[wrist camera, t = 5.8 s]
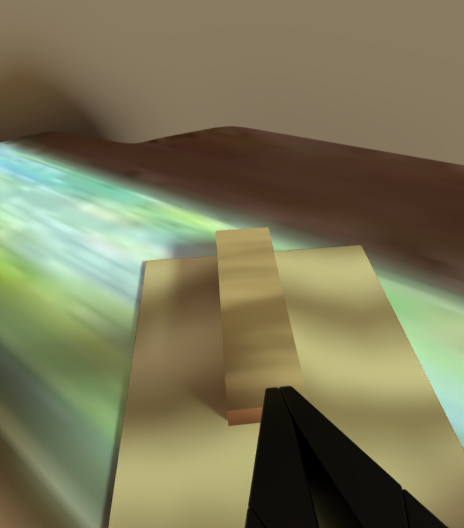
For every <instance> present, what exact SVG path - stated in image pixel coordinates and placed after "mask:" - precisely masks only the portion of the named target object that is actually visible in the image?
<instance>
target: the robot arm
mask: <svg viewBox="0 0 464 528" xmlns="http://www.w3.org/2000/svg"><path fill="white" fill-rule="evenodd" d="M244 528H449V527H447V526H446V525H445V524H444V523H443V522H442V521H441V520H440V519H438V518H437V517H436V516H435V515H434V514H433V513H432V512H430V511H429V510H428V509H427V508H426V507H425V506H424V505H423V504H421V503H420V502H419V501H418V500H417V499H416V498H415V497H414V496H413V495H411V494H410V493H409V492H408V491H407V490H406V489H403V490H402V486H401V485H400V484H399V483H398V482H397V481H396V480H395V479H394V478H393V477H391V476H390V475H389V474H388V473H387V472H386V471H385V470H384V469H383V468H382V467H380V466H379V465H378V464H377V463H376V462H375V461H374V460H373V459H372V458H371V457H369V456H368V455H367V454H366V453H365V452H364V451H363V450H362V449H361V448H360V447H358V446H357V445H356V444H355V443H354V442H353V441H352V440H351V439H350V438H349V437H347V436H346V435H345V434H344V433H343V432H342V431H341V430H340V429H339V428H337V427H336V426H335V425H334V424H333V423H332V422H331V421H330V420H329V419H328V418H326V417H325V416H324V415H323V414H322V413H321V412H320V411H319V410H318V409H317V408H315V407H314V406H313V405H312V404H311V403H310V402H309V401H308V400H307V399H306V398H304V397H303V396H302V395H301V394H300V393H299V392H298V391H297V390H296V389H295V388H293V387H292V386H281V387H279V388H278V387H270V388H266V389H265V395H264V402H263V408H262V415H261V422H260V428H259V435H258V442H257V448H256V455H255V462H254V469H253V475H252V482H251V489H250V495H249V502H248V509H247V514H246V521H245V527H244Z"/></svg>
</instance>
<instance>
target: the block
mask: <svg viewBox="0 0 464 528" xmlns="http://www.w3.org/2000/svg"><path fill="white" fill-rule="evenodd" d="M216 242H217V258H218V274H219V289H220V305H221V321H222V337H223V353H224V368H225V384H226V400H227V416H228V426H235V425H244V424H253V423H260V422H261V415H262V408H263V402H264V395H265V389H266V388H270V387H278V388H279V387H281V386H292V387H293V388H295V389H296V390H297V391H298V392H299V393H300V394H301V395H302V396H303V397H304V398H306V399H307V400H308V397H307V393H306V388H305V384H304V380H303V375H302V371H301V367H300V362H299V358H298V354H297V349H296V345H295V341H294V337H293V332H292V328H291V324H290V319H289V315H288V311H287V306H286V302H285V298H284V293H283V289H282V285H281V281H280V276H279V272H278V268H277V263H276V259H275V255H274V250H273V246H272V242H271V237H270V233H269V229H268V227H267V228H253V229H238V230H223V231H216Z"/></svg>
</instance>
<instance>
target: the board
mask: <svg viewBox="0 0 464 528" xmlns="http://www.w3.org/2000/svg"><path fill="white" fill-rule="evenodd" d="M274 255H275V259H276V263H277V268H278V272H279V276H280V281H281V285H282V289H283V293H284V298H285V302H286V306H287V311H288V315H289V319H290V324H291V328H292V332H293V337H294V341H295V345H296V349H297V354H298V358H299V362H300V367H301V371H302V375H303V380H304V384H305V388H306V393H307V397H308V401H309V402H310V403H311V404H312V405H313V406H314V407H315V408H317V409H318V410H319V411H320V412H321V413H322V414H323V415H324V416H325V417H326V418H328V419H329V420H330V421H331V422H332V423H333V424H334V425H335V426H336V427H337V428H339V429H340V430H341V431H342V432H343V433H344V434H345V435H346V436H347V437H349V438H350V439H351V440H352V441H353V442H354V443H355V444H356V445H357V446H358V447H360V448H361V449H362V450H363V451H364V452H365V453H366V454H367V455H368V456H369V457H371V458H372V459H373V460H374V461H375V462H376V463H377V464H378V465H379V466H380V467H382V468H383V469H384V470H385V471H386V472H387V473H388V474H389V475H390V476H391V477H393V478H394V479H395V480H396V481H397V482H398V483H399V484H400V485H401V486H402V490H403V489H406V490H407V491H408V492H409V493H410V494H411V495H413V496H414V497H415V498H416V499H417V500H418V501H419V502H420V503H421V504H423V505H424V506H425V507H426V508H427V509H428V510H429V511H430V512H432V513H433V514H434V515H435V516H436V517H437V518H438V519H440V520H441V521H442V522H443V523H444V524H445V525H446V526H447V527H449V528H464V450H463V448H462V446H461V444H460V442H459V440H458V438H457V436H456V434H455V432H454V430H453V428H452V426H451V424H450V422H449V420H448V418H447V416H446V414H445V412H444V410H443V408H442V406H441V404H440V402H439V400H438V398H437V396H436V394H435V392H434V390H433V388H432V386H431V384H430V382H429V380H428V378H427V376H426V374H425V372H424V370H423V368H422V366H421V364H420V362H419V360H418V358H417V356H416V354H415V352H414V350H413V348H412V346H411V344H410V342H409V340H408V338H407V336H406V334H405V332H404V330H403V328H402V326H401V324H400V322H399V320H398V318H397V316H396V314H395V312H394V310H393V308H392V306H391V304H390V302H389V300H388V298H387V296H386V294H385V292H384V290H383V288H382V286H381V284H380V282H379V280H378V278H377V276H376V274H375V272H374V270H373V268H372V266H371V264H370V262H369V260H368V258H367V256H366V254H365V252H364V250H363V248H362V246H361V245H358V246H344V247H330V248H316V249H303V250H289V251H275V252H274ZM259 428H260V423H253V424H244V425H235V426H228V416H227V400H226V384H225V368H224V353H223V337H222V321H221V305H220V289H219V274H218V258H217V256H206V257H193V258H179V259H165V260H151V261H146V268H145V275H144V282H143V289H142V296H141V303H140V310H139V317H138V324H137V331H136V338H135V345H134V352H133V359H132V366H131V373H130V380H129V387H128V394H127V401H126V408H125V415H124V422H123V429H122V436H121V443H120V450H119V457H118V464H117V471H116V478H115V485H114V492H113V499H112V506H111V513H110V520H109V527H108V528H244V527H245V521H246V514H247V509H248V502H249V495H250V489H251V482H252V475H253V469H254V462H255V455H256V448H257V442H258V435H259Z"/></svg>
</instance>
